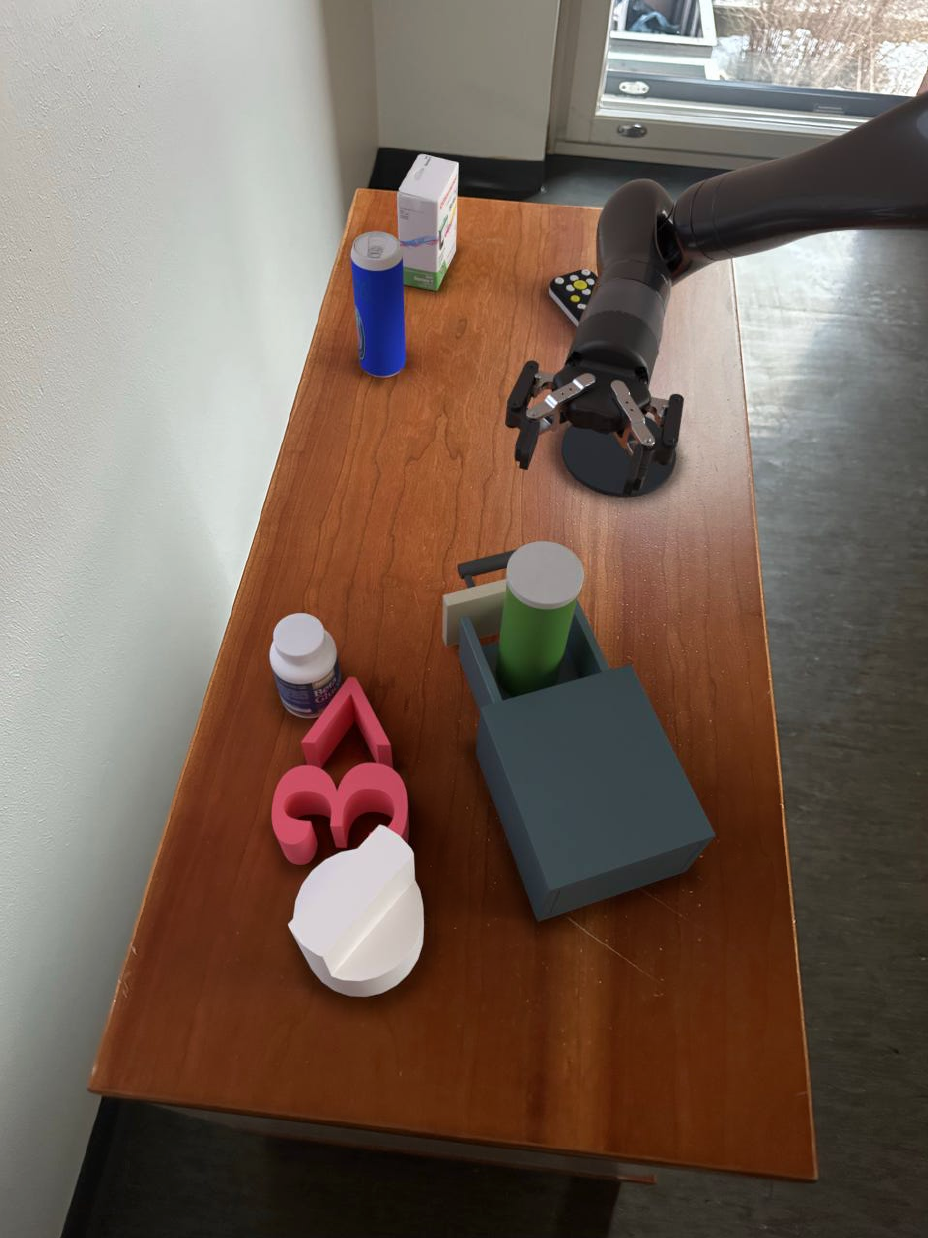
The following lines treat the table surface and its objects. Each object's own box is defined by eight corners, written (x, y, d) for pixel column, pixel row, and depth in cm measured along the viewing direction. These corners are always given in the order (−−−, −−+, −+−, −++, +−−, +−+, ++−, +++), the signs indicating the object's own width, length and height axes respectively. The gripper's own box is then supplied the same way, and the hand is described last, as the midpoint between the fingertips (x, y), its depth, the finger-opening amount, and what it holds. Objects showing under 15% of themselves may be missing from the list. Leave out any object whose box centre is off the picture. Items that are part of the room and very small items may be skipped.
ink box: (437, 292, 107) (438, 201, 97) (398, 284, 108) (395, 192, 98) (457, 250, 111) (460, 158, 101) (419, 242, 112) (418, 150, 102)
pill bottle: (327, 729, 76) (314, 673, 68) (270, 708, 77) (251, 651, 69) (353, 676, 79) (344, 617, 70) (298, 657, 80) (282, 596, 71)
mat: (646, 402, 98) (647, 398, 98) (694, 482, 92) (696, 478, 92) (544, 425, 96) (544, 421, 95) (587, 508, 90) (588, 505, 89)
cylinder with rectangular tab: (361, 850, 70) (349, 793, 60) (448, 925, 68) (451, 879, 57) (278, 940, 67) (250, 896, 56) (367, 1025, 64) (355, 994, 54)
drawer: (428, 599, 82) (427, 555, 76) (543, 570, 84) (551, 525, 79) (491, 771, 73) (497, 736, 68) (618, 732, 76) (634, 695, 70)
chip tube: (545, 637, 79) (566, 533, 66) (568, 690, 76) (596, 592, 64) (485, 653, 78) (496, 550, 65) (507, 708, 75) (522, 612, 63)
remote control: (599, 356, 102) (602, 342, 100) (543, 291, 108) (545, 277, 106) (644, 341, 103) (648, 327, 102) (587, 277, 109) (589, 263, 108)
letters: (299, 702, 77) (292, 674, 73) (417, 707, 77) (416, 679, 73) (276, 864, 70) (266, 843, 65) (406, 869, 70) (404, 849, 65)
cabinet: (475, 753, 75) (480, 706, 68) (612, 712, 78) (631, 663, 70) (537, 922, 68) (550, 890, 61) (686, 871, 70) (715, 835, 63)
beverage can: (363, 346, 101) (354, 226, 89) (408, 350, 101) (405, 231, 89) (356, 378, 99) (345, 259, 86) (402, 382, 99) (398, 264, 86)
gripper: (543, 291, 77) (492, 420, 69) (706, 327, 75) (675, 464, 67) (534, 359, 83) (487, 485, 75) (685, 393, 82) (654, 526, 73)
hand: (575, 475), depth 71 cm, fingers open, 8 cm apart
